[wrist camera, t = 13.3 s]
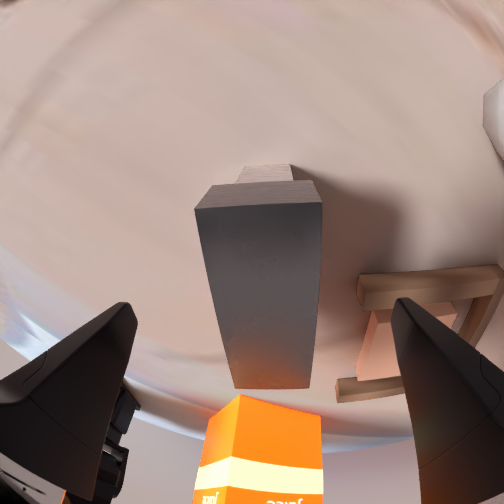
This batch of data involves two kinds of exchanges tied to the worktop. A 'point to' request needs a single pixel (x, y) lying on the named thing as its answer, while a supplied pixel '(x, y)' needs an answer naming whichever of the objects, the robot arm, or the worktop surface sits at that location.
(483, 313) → the bay
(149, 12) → the worktop surface
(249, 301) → the grey block
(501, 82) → the salt shaker
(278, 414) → the orange juice
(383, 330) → the tile
